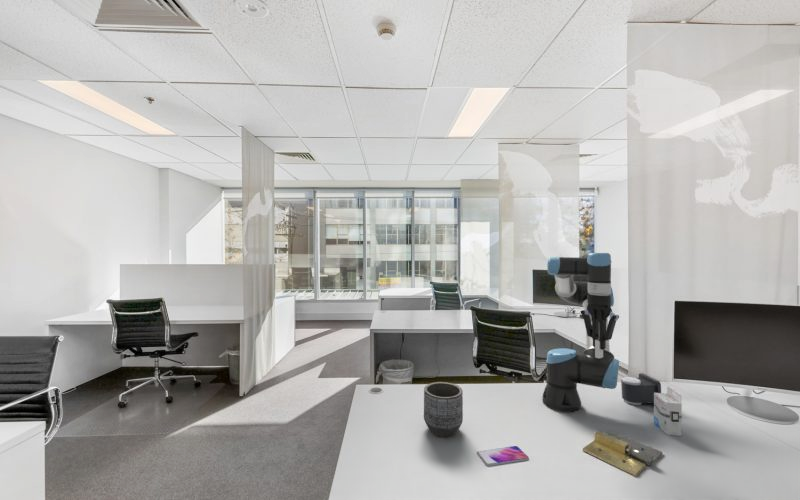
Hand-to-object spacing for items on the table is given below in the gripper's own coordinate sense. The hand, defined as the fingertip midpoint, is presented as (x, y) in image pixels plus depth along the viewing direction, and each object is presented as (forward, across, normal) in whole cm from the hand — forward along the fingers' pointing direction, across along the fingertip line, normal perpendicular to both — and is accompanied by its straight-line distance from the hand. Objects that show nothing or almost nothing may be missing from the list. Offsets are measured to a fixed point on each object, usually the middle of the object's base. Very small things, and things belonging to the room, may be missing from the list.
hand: (599, 357), depth 121 cm
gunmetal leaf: (+27, +12, -5) cm, 29 cm away
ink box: (+27, +13, +22) cm, 37 cm away
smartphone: (+27, -7, -44) cm, 52 cm away
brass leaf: (+26, +12, -13) cm, 32 cm away
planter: (+27, -29, -51) cm, 64 cm away
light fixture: (+27, -3, +37) cm, 46 cm away
